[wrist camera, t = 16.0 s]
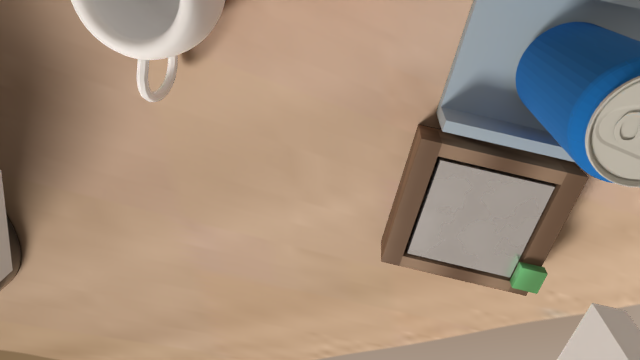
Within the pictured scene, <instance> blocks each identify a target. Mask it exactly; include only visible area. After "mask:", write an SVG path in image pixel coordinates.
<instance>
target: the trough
mask: <svg viewBox="0 0 640 360" xmlns="http://www.w3.org/2000/svg"><path fill="white" fill-rule="evenodd" d="M569 22H587V23H591V24H595V25H597V26H600V27H603V28H605V29H608V30H611V31H614V32H616V33H619V34H622V35H624V36H627V37H630V38H632V39H635V40H638V41H640V0H474V1H473V4H472V7H471V10H470V13H469V16H468V19H467V22H466V25H465V28H464V31H463V34H462V37H461V40H460V43H459V46H458V49H457V52H456V55H455V58H454V61H453V64H452V67H451V70H450V73H449V76H448V79H447V82H446V85H445V88H444V91H443V94H442V97H441V100H440V103H439V106H438V109H437V112H436V114H437V117H438V120H439V123H440V126H441V129H442V131H443V132H447V133H452V134H456V135H460V136H465V137H469V138H473V139H477V140H482V141H486V142H490V143H495V144H499V145H503V146H507V147H512V148H516V149H520V150H525V151H529V152H533V153H538V154H542V155H546V156H550V157H555V158H559V159H563V160H568V161H572V162H575V161H574V160H573V159H572V158H571V157H570V156H569V154H568V153H567V152H566V151H565V150H564V149H563V148H562V147H561V145H560V144H559V143H558V142H557V141H556V140H555V139H554V138H553V136H552V135H551V134H550V133H549V132H548V131H547V130H546V129H545V128H544V126H543V125H542V124H541V123H540V122H539V121H538V120H537V119H536V117H535V116H534V115H533V114H532V113H531V112H530V111H529V110H528V108H527V107H526V106H525V105H524V104H523V102H522V101H521V99H520V97H519V95H518V93H517V89H516V81H515V79H516V71H517V66H518V63H519V61H520V59H521V56H522V55H523V53H524V51H525V50H526V48H527V47H528V46H529V45H530V44H531V43H532V42H533V41H534V40H535V39H536V38H537V37H538V36H539V35H541V34H542V33H544V32H545V31H547V30H548V29H551V28H553V27H555V26H558V25H560V24H564V23H569Z"/></svg>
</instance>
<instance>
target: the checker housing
mask: <svg viewBox="0 0 640 360" xmlns="http://www.w3.org/2000/svg"><path fill="white" fill-rule="evenodd" d="M438 156H439V157H443V158H448V159H452V160H456V161H461V162H465V163H469V164H473V165H478V166H482V167H486V168H491V169H495V170H499V171H503V172H508V173H512V174H516V175H520V176H525V177H529V178H533V179H538V180H542V181H546V182H550V183H552V184H553V185H554V186H555V188H554V190H553V192H552V194H551V196H550V198H549V200H548V202H547V204H546V206H545V208H544V210H543V212H542V214H541V216H540V218H539V220H538V222H537V224H536V226H535V228H534V230H533V232H532V234H531V236H530V238H529V240H528V242H527V244H526V246H525V248H524V251H523V253H522V255H521V257H520V259H519V261H518V263H517V265H516V267H515V269H514V271H513V273H512V275H511V277H505V276H501V275H497V274H493V273H489V272H484V271H480V270H476V269H472V268H467V267H463V266H459V265H455V264H451V263H446V262H442V261H438V260H434V259H429V258H425V257H421V256H417V255H413V254H408V253H407V244H408V241H409V238H410V234H411V231H412V228H413V225H414V222H415V220H416V217H417V214H418V211H419V208H420V205H421V203H422V200H423V197H424V194H425V191H426V188H427V185H428V183H429V180H430V177H431V174H432V171H433V168H434V165H435V163H436V160H437V157H438ZM587 179H588V177H587V175H586V174H585V173H584V172H583V171H582V170H581V169H580V168H579V167H578V165H577V164H576V163H575V162H572V161H568V160H563V159H559V158H555V157H550V156H546V155H542V154H538V153H533V152H529V151H525V150H520V149H516V148H512V147H507V146H503V145H499V144H495V143H490V142H486V141H482V140H477V139H473V138H469V137H465V136H460V135H456V134H452V133H447V132H443V131H442V130H440V129H436V128H432V127H428V126H423V125H419V124H418V127H417V130H416V134H415V137H414V140H413V143H412V146H411V149H410V152H409V156H408V159H407V162H406V165H405V168H404V171H403V174H402V178H401V181H400V184H399V187H398V190H397V193H396V196H395V200H394V203H393V206H392V209H391V212H390V215H389V218H388V222H387V225H386V228H385V231H384V234H383V237H382V240H381V262H385V263H390V264H394V265H398V266H402V267H406V268H411V269H415V270H419V271H423V272H428V273H432V274H436V275H440V276H444V277H449V278H453V279H457V280H461V281H465V282H470V283H474V284H478V285H482V286H487V287H491V288H495V289H499V290H503V291H508V292H512V293H516V294H520V295H524V296H526V295H527V293H528V292H532V293H536V294H537V293H538V291H539V289H540V287H541V285H542V284H543V282H544V280H545V278H546V276H547V272H546V270H545V268H544V267H541V266H542V265H543V263H544V261H545V259H546V257H547V255H548V253H549V251H550V249H551V248H552V246H553V244H554V242H555V240H556V238H557V236H558V234H559V232H560V231H561V229H562V227H563V225H564V223H565V221H566V219H567V217H568V215H569V213H570V212H571V210H572V208H573V206H574V204H575V202H576V200H577V198H578V196H579V195H580V193H581V191H582V189H583V187H584V185H585V183H586V181H587Z"/></svg>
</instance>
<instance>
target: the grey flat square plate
mask: <svg viewBox="0 0 640 360" xmlns="http://www.w3.org/2000/svg"><path fill="white" fill-rule="evenodd" d="M554 188H555V186H554V185H553V184H552V183H550V182H546V181H542V180H538V179H533V178H529V177H525V176H520V175H516V174H512V173H508V172H503V171H499V170H495V169H491V168H486V167H482V166H478V165H473V164H469V163H465V162H461V161H456V160H452V159H448V158H443V157H439V156H438V159H437V162H436V164H435V167H434V170H433V173H432V176H431V179H430V182H429V184H428V187H427V190H426V193H425V196H424V199H423V201H422V204H421V207H420V210H419V213H418V216H417V219H416V221H415V224H414V227H413V230H412V233H411V236H410V238H409V241H408V244H407V253H408V254H413V255H417V256H421V257H425V258H429V259H434V260H438V261H442V262H446V263H451V264H455V265H459V266H463V267H467V268H472V269H476V270H480V271H484V272H489V273H493V274H497V275H501V276H505V277H511V275H512V273H513V271H514V269H515V267H516V265H517V263H518V261H519V259H520V257H521V255H522V253H523V251H524V248H525V246H526V244H527V242H528V240H529V238H530V236H531V234H532V232H533V230H534V228H535V226H536V224H537V222H538V220H539V218H540V216H541V214H542V212H543V210H544V208H545V206H546V204H547V202H548V200H549V198H550V196H551V194H552V192H553V190H554Z"/></svg>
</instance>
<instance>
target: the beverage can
mask: <svg viewBox="0 0 640 360" xmlns="http://www.w3.org/2000/svg"><path fill="white" fill-rule="evenodd" d="M515 81H516V89H517V93H518V95H519V97H520V99H521V101H522V102H523V104H524V105H525V106H526V107H527V108H528V110H529V111H530V112H531V113H532V114H533V115H534V116H535V117H536V119H537V120H538V121H539V122H540V123H541V124H542V125H543V126H544V128H545V129H546V130H547V131H548V132H549V133H550V134H551V135H552V136H553V138H554V139H555V140H556V141H557V142H558V143H559V144H560V145H561V147H562V148H563V149H564V150H565V151H566V152H567V153H568V154H569V156H570V157H571V158H572V159H573V160H574V161H575V162H576V163H577V164H578V166H579V167H580V168H582V169H583V170H584V171H585V172H587V173H588V174H590V175H591V176H593V177H595V178H598V179H600V180H603V181H606V182H611V183H616V184H619V185H622V186H627V187H637V188H640V41H638V40H635V39H632V38H630V37H627V36H624V35H622V34H619V33H616V32H614V31H611V30H608V29H605V28H603V27H600V26H597V25H595V24H591V23H587V22H569V23H564V24H560V25H558V26H555V27H553V28H551V29H548V30H547V31H545V32H544V33H542V34H541V35H539V36H538V37H537V38H536V39H535V40H534V41H533V42H532V43H531V44H530V45H529V46H528V47H527V48H526V50H525V51H524V53H523V55H522V56H521V59H520V61H519V63H518V66H517V71H516V79H515Z"/></svg>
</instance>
